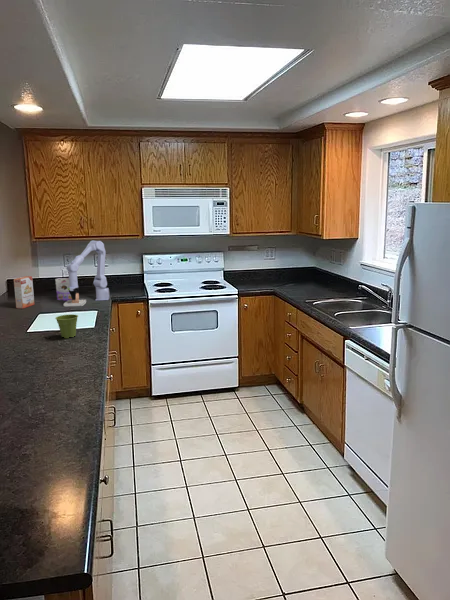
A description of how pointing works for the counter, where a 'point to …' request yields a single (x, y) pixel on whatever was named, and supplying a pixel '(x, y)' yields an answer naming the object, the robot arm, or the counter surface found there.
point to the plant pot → (67, 325)
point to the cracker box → (24, 292)
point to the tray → (69, 303)
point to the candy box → (62, 289)
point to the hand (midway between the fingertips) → (74, 299)
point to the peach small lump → (76, 299)
